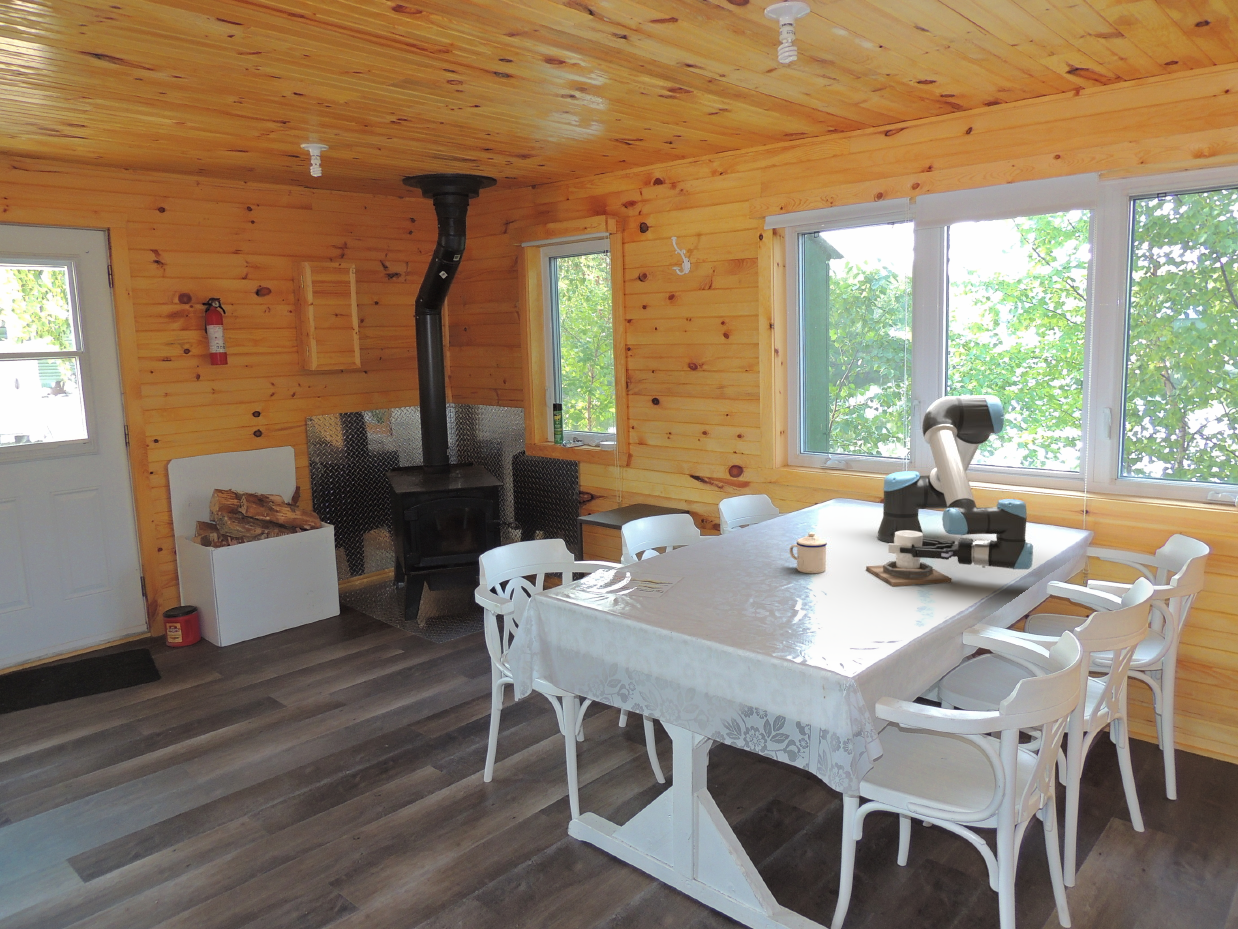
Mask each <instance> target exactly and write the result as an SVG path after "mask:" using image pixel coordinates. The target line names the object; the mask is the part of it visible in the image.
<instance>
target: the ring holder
mask: <svg viewBox="0 0 1238 929" xmlns="http://www.w3.org/2000/svg"><path fill="white" fill-rule="evenodd" d="M865 566H866V567H865V570H866V571H867V572H868V573H870V574H872V575H873V576H875V577H877V578H879V579H880V580H882V581H883V580H884V581H883V582H885V583H887V584H888V583H889V584H888V585H889V586H891V585H892V587H899V586H903V585H904V586H913V585H912V584H918V585H926V584H925V583H933V584H943V582H948V583H952V582H953V581H952V579H953V578H952V577H951V576H948V575H946V574H944V573H942V572H940V571H939V570H937V569H935V568H933V566H932V565H930V564H928V563H926V562H923V561H920V567H919V568H916V569H904V568H899V567H897V566H896V560H889V561H888V562H886V563H884V564H879V565H865ZM904 586H903V587H904Z"/></svg>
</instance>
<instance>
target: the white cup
mask: <svg viewBox="0 0 1238 929" xmlns="http://www.w3.org/2000/svg"><path fill="white" fill-rule="evenodd" d="M923 538H924V532H923V533H921V532H917V531H897V532H895V544H902V545H912V544H914V546H915V547H922V540H923ZM921 559H922V558H918V557H915V558H914V557H913V556H912V555H906V554H895V561H896V566H897V567H899V568H904V569H916V568H919V567H920V562H921Z"/></svg>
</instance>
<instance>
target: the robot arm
mask: <svg viewBox="0 0 1238 929" xmlns="http://www.w3.org/2000/svg"><path fill="white" fill-rule="evenodd" d="M1004 424H1005V414H1004V408H1003V404H1002V402H1001V400H1000V398H998V396H995V395H987V394H984V395H959V396H958V395H957V396H954V395H953V396H952V395H951V396H950V395H949V396H944V397H941V398H939V399H937V400H935V401H934V402H933V403H932V404H931V405H930V406H929V407H928V408H927V410H926V412H925V414H924V416H923V420H922V428H921V429H922V436H923V438H924V441H925V443H927V444H928V445H929V447H930V450H931V453H932V457H933V461H934V464H935V467H934V468H933V469H932V470H931V471H930V474H926V475H921V474H920V472H918V471H915V470H909V471H908V470H905V471H904V470H903V471H897V472H893V473H890V474H888V475H886V476H885V478H884V481H883V488H882V491H883V508H882V509H883V512H882V513H883V516H882V519H881V521H880V524H879V527H878V529H877V539H878V540H880V541H882V542H886V543H888V552H887V553H888V554H895V555H896V554H906V555H912V556H913V557H914V558H915V557H918V558H921V559H938V560H939V559H940V560H946V561H947V560H950V559H952V558H955V557H956V558H957V563H958V564H959V565H968V566H971V565H974V566H979V567H980V566H981V568H983V569H985V568H986V567H991V568H992V567H993V568H1002V569H1009V570H1010V569H1012V570H1030V569H1031V568H1032V567H1033V559H1034V558H1033V557H1034V545H1033V544H1032V543H1030V542H1027V540H1026V532H1027V530H1026V528H1027V520H1028V519H1027V518H1028V517H1027V516H1028V515H1027V512H1028V511H1027V504H1026V502H1025V501H1023V500H1020V499H1015V498H1004V499H998V501H997V504H996V506H994V507H992V506H991V507H989V506H988V507H978V506H977V504H976V500H975V498H974V494H973V492H972V488H971V485H970V481H969V478H968V475H967V474H968V473H967V471H968V469H969V467H970V465H971V463H972V461H973V459H974V456H975V454H976V453H977V451H978V449H979V446H980V445H981V444H984V443H985V442H987V441H988V440H989V438H990V436H991V434H994V435H996V434H1000V433H1001V432H1002V431H1003V429H1004ZM920 510H943V513H942V517H941V520H942V527H943V531H944V532H945V533H946V534H948V535H954V536H955V535H956V536H966V535H968V536H969V535H995V538H996V539H995V540H993V539H992V540H991V539H982V538H981V539H980V538H976V539H975V540H974V539H973V538H967V537H966V538H965V537H961V538H959V540H958V543H956V541H955V540H944V539H943V540H942V539H934V538H927V537H923V540H922V547H915V546H914V544H912V545H902V544H895V532H897V531H917V532H921V533H923V534H924V532H923V528H922V526H921V523H920V519H919V511H920Z"/></svg>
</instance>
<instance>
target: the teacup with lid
mask: <svg viewBox="0 0 1238 929" xmlns="http://www.w3.org/2000/svg"><path fill="white" fill-rule="evenodd" d="M827 545H828V543H827V540H825V539H823V538H821V537H819V536H817V535H816V533H815V532H809V533H808V535H806V536H804V537H802V538H798V539H797V540H796V544H791V545H790V547H789V554H790V557H791V558H792V559H793V560H795V561H796V569H797V571H798V572H801V573H804V574H820V573H825V571H826V568H827V567H826V566H827V564H826V562H827ZM794 548H796V556H795V553H794V551H793V549H794Z"/></svg>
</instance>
